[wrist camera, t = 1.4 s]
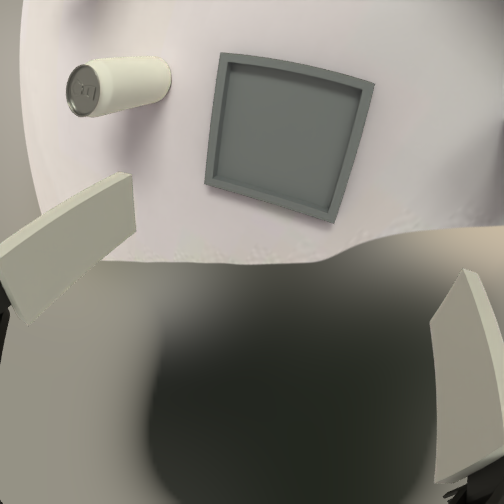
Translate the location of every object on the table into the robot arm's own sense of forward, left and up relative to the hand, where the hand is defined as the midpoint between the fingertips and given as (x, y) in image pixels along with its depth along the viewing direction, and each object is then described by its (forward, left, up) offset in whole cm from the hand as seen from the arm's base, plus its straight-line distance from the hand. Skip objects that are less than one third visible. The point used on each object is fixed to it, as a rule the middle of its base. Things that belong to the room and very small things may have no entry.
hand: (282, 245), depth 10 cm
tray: (+1, -5, -23) cm, 24 cm away
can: (-3, -23, -23) cm, 33 cm away
